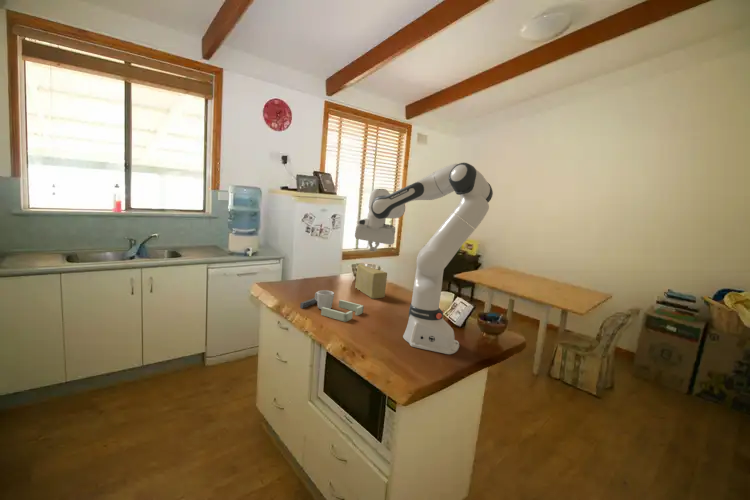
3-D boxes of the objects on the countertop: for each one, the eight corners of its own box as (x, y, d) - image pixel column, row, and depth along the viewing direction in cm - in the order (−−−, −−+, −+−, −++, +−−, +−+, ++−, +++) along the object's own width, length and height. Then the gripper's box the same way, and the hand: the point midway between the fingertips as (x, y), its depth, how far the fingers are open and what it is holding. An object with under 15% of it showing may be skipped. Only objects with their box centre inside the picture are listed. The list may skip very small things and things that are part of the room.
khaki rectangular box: (349, 288, 206) (351, 263, 204) (362, 287, 213) (364, 263, 210) (371, 299, 190) (374, 272, 187) (385, 297, 196) (388, 271, 193)
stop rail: (319, 301, 175) (320, 297, 175) (302, 308, 163) (303, 303, 163) (317, 301, 176) (317, 296, 176) (300, 307, 164) (300, 302, 163)
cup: (308, 306, 167) (309, 290, 166) (320, 303, 174) (322, 287, 172) (324, 312, 161) (325, 295, 160) (336, 309, 167) (337, 293, 166)
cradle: (363, 312, 167) (363, 305, 166) (345, 322, 152) (346, 314, 151) (339, 306, 172) (340, 299, 171) (320, 314, 157) (321, 307, 157)
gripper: (398, 225, 166) (395, 253, 168) (360, 220, 175) (358, 247, 177) (393, 225, 161) (389, 255, 163) (354, 220, 169) (352, 248, 171)
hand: (373, 250), depth 170 cm, fingers closed
